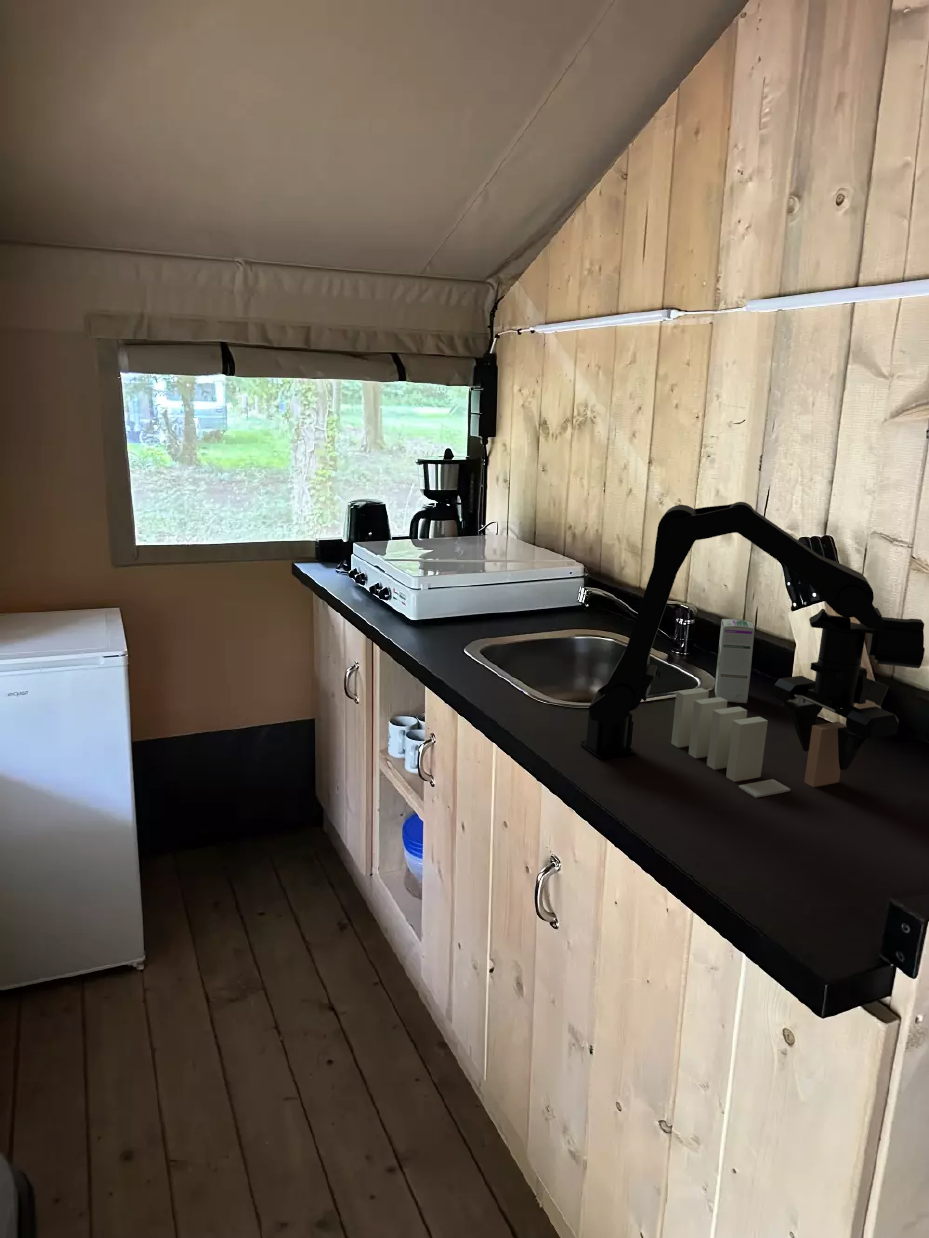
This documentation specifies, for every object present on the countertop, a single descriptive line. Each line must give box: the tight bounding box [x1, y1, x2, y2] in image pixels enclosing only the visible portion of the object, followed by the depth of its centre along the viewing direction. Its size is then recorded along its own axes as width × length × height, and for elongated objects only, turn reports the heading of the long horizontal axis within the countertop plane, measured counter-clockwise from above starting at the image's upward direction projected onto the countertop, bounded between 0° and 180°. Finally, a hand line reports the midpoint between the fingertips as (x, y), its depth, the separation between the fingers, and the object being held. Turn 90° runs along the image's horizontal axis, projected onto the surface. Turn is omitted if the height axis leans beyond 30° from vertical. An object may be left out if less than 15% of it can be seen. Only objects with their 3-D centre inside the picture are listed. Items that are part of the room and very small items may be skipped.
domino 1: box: [671, 687, 710, 748], centre depth 146 cm, size 2×5×9 cm, turn 114°
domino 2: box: [688, 696, 728, 759], centre depth 142 cm, size 2×5×9 cm, turn 114°
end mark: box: [738, 778, 791, 798], centre depth 132 cm, size 6×4×1 cm, turn 114°
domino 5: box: [803, 721, 847, 788], centre depth 134 cm, size 2×5×9 cm, turn 114°
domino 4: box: [725, 716, 769, 783], centre depth 135 cm, size 2×5×9 cm, turn 114°
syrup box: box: [714, 618, 756, 704], centre depth 169 cm, size 6×6×14 cm
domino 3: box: [706, 706, 748, 771], centre depth 138 cm, size 2×5×9 cm, turn 114°
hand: (824, 759), depth 134 cm, fingers open, 7 cm apart
